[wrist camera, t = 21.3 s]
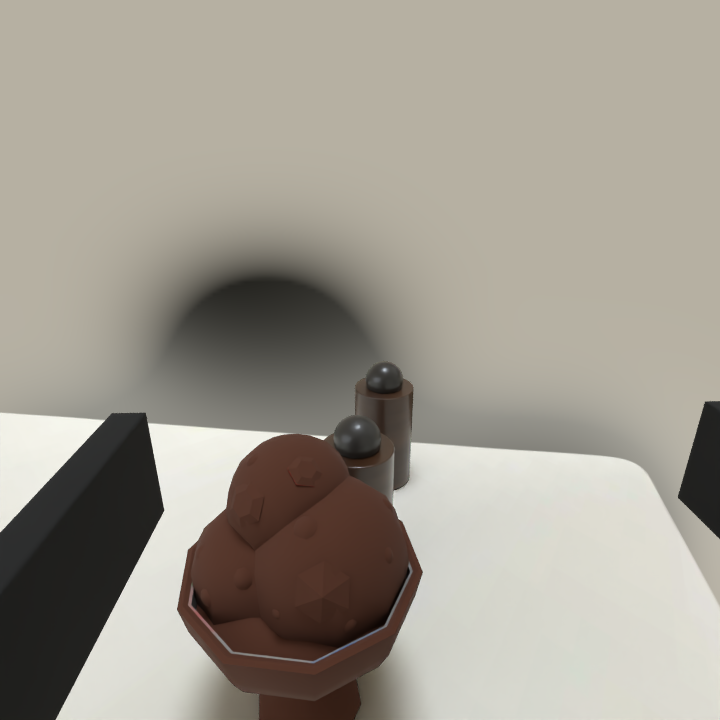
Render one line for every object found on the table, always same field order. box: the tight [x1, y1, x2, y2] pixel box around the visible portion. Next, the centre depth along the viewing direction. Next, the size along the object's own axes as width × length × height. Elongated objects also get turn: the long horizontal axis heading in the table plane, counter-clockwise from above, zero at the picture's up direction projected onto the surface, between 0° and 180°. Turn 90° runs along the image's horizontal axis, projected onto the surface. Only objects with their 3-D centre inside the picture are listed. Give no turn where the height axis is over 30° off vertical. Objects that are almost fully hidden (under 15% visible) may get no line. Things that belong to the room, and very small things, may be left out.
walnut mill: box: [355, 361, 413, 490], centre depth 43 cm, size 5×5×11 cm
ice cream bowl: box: [177, 434, 423, 720], centre depth 23 cm, size 11×11×15 cm
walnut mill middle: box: [324, 415, 394, 506], centre depth 34 cm, size 5×5×11 cm
